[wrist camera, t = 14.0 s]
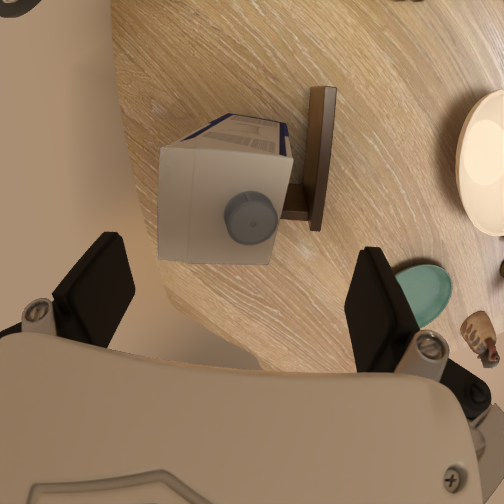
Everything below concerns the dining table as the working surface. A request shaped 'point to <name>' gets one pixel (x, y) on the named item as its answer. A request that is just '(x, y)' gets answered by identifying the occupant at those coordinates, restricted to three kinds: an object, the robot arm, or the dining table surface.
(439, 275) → the saucer
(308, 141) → the shelf
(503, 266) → the kendama
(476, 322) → the figurine
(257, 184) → the milk carton
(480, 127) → the bowl
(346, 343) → the dining table surface
